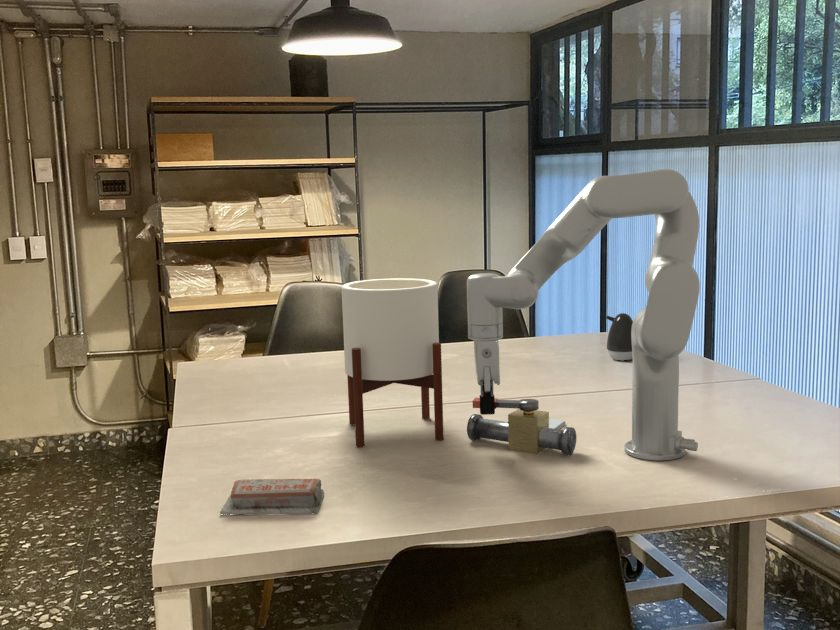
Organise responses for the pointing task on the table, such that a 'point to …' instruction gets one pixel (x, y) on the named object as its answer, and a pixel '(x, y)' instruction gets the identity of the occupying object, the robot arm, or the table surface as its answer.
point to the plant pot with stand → (392, 343)
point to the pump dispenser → (620, 337)
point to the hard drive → (556, 423)
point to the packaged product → (274, 497)
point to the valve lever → (512, 404)
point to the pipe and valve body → (524, 432)
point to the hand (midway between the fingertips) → (487, 413)
